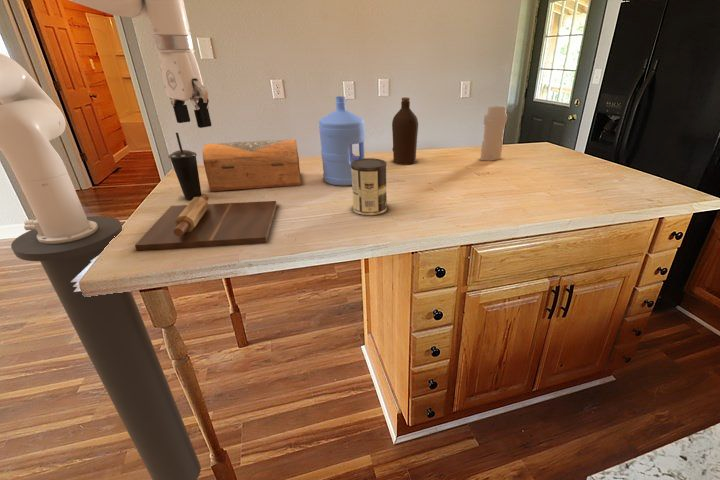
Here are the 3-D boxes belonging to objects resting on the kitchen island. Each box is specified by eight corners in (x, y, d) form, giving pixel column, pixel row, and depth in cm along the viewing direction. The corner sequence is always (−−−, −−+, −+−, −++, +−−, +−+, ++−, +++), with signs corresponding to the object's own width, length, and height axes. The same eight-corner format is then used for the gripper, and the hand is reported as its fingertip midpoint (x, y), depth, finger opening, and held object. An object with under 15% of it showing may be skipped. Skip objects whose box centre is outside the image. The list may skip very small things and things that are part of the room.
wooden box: (299, 172, 151) (295, 135, 144) (302, 185, 137) (297, 145, 130) (216, 177, 144) (207, 138, 137) (209, 192, 130) (199, 149, 123)
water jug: (320, 186, 136) (312, 100, 122) (326, 173, 150) (320, 94, 136) (365, 186, 137) (362, 100, 123) (367, 173, 150) (365, 94, 136)
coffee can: (377, 200, 125) (376, 156, 118) (392, 211, 117) (393, 164, 110) (347, 206, 120) (344, 160, 113) (361, 218, 112) (359, 169, 105)
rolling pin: (171, 241, 95) (165, 224, 93) (198, 205, 115) (194, 191, 113) (190, 240, 96) (185, 223, 93) (214, 204, 116) (210, 190, 114)
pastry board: (136, 250, 94) (134, 245, 93) (172, 210, 116) (170, 205, 115) (266, 242, 98) (265, 237, 97) (276, 205, 120) (276, 200, 120)
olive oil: (421, 160, 167) (424, 97, 155) (408, 166, 159) (409, 100, 147) (401, 157, 172) (402, 95, 160) (387, 162, 165) (386, 98, 152)
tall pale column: (481, 161, 168) (487, 106, 157) (477, 158, 171) (483, 104, 160) (503, 159, 170) (511, 105, 159) (499, 157, 174) (506, 104, 163)
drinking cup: (211, 195, 127) (196, 131, 117) (192, 203, 121) (174, 136, 111) (195, 191, 130) (178, 129, 120) (175, 199, 124) (156, 133, 114)
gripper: (139, 44, 90) (161, 122, 98) (177, 45, 81) (198, 131, 89) (172, 44, 95) (190, 118, 104) (211, 45, 86) (228, 126, 95)
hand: (194, 124), depth 97 cm, fingers open, 9 cm apart
